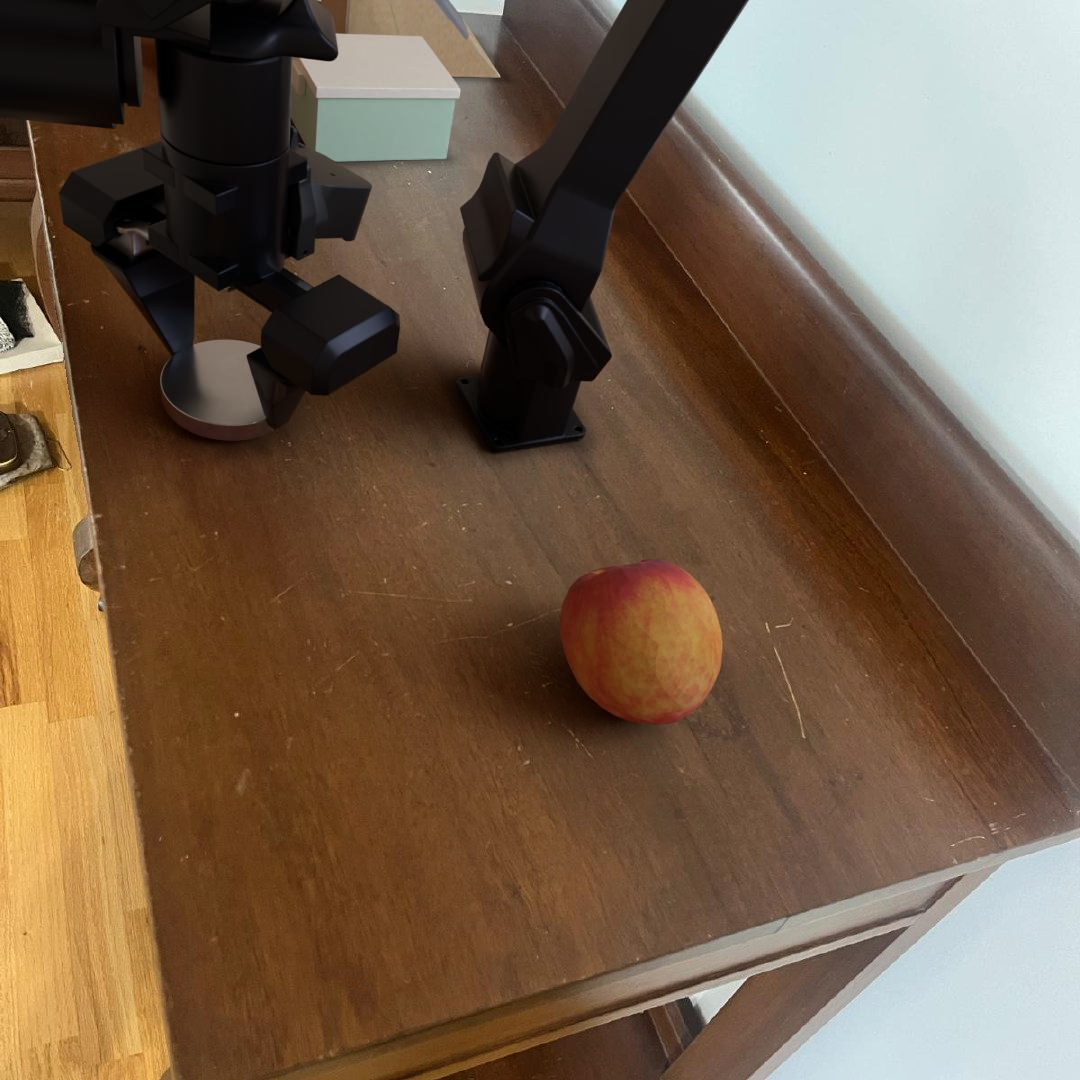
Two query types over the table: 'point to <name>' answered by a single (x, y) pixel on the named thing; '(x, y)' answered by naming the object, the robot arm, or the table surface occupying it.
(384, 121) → the lunchbox
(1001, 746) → the table surface
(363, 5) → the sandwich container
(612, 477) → the table surface
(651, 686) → the fruit
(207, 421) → the silver plate
